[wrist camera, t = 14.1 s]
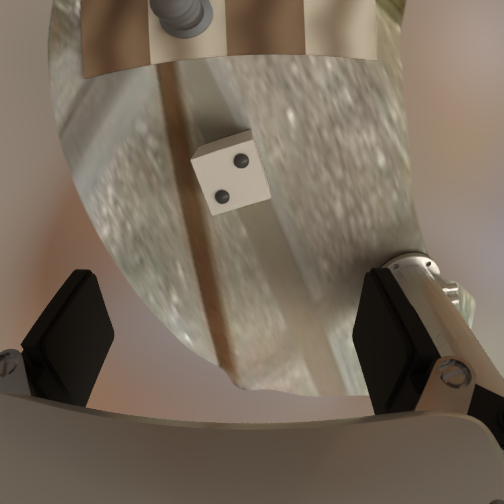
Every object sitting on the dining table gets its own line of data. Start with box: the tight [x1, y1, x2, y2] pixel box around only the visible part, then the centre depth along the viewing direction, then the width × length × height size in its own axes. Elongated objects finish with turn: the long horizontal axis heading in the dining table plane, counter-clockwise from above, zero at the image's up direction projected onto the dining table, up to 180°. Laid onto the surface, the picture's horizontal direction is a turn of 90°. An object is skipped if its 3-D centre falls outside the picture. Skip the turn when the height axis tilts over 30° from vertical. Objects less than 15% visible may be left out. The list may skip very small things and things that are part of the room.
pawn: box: [149, 0, 213, 39], centre depth 21 cm, size 5×5×9 cm
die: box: [191, 130, 271, 216], centre depth 32 cm, size 6×6×6 cm
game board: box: [81, 0, 377, 79], centre depth 26 cm, size 32×10×1 cm, turn 92°
